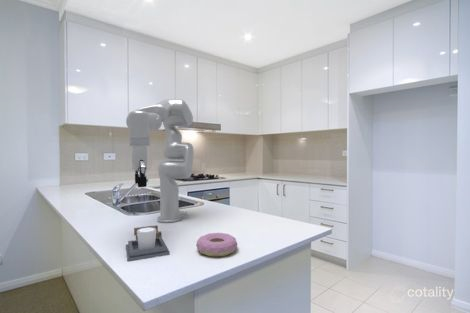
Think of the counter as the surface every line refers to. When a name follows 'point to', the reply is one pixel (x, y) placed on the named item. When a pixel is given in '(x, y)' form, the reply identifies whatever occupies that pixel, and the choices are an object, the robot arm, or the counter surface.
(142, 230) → the white cup
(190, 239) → the counter surface
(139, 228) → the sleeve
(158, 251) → the cradle
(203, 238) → the donut
